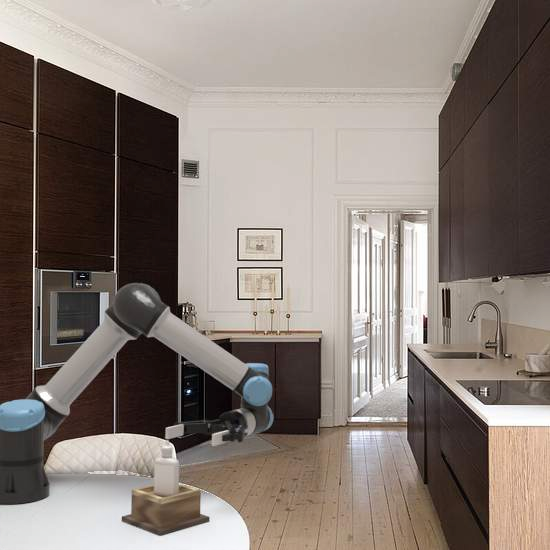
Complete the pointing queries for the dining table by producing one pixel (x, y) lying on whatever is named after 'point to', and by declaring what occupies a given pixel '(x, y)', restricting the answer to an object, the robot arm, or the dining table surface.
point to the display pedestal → (165, 510)
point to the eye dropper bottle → (166, 473)
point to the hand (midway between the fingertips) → (189, 436)
